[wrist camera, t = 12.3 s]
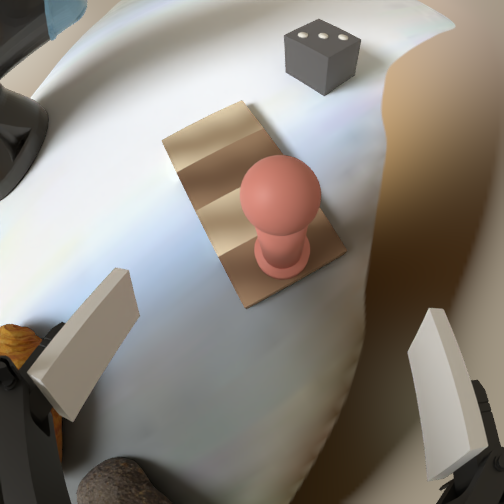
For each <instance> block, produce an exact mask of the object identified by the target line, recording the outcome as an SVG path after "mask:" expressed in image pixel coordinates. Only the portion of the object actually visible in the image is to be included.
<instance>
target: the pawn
mask: <svg viewBox="0 0 504 504" xmlns="http://www.w3.org/2000/svg"><path fill="white" fill-rule="evenodd" d="M240 202H241V207H242V210H243V212H244V214H245V216H246V217H247V219H248V220H249V221H250V223H251V224H252V225H254V226H255V228H256V232H257V236H258V237H257V239H256V242H255V247H254V253H255V257H256V260H257V263H258V265H259V267H260V268H261V270H262V271H263V272H264V273H265V274H266V275H268V276H269V277H271V278H274V279H278V280H286V279H290V278H293V277H295V276H297V275H298V274H300V273H301V272H302V271H303V269H304V268H305V266H306V264H307V262H308V259H309V255H310V244H309V241H308V238H307V236H306V233H307V228H308V225H309V224H310V223H311V222H312V221H313V219H314V218H315V216H316V214H317V212H318V210H319V207H320V202H321V189H320V185H319V181H318V179H317V177H316V175H315V174H314V172H313V171H312V170H311V168H310V167H309V166H307V165H306V164H305V163H304V162H302V161H301V160H299V159H297V158H294V157H291V156H286V155H274V156H269V157H266V158H264V159H261V160H260V161H258V162H257V163H255V164H254V165H253V166H252V167H251V168H250V169H249V170H248V171H247V173H246V174H245V176H244V178H243V181H242V183H241V187H240Z"/></svg>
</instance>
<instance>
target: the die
mask: <svg viewBox="0 0 504 504" xmlns="http://www.w3.org/2000/svg"><path fill="white" fill-rule="evenodd" d="M284 42H285V67H286V73H288V74H289V75H291V76H293V77H294V78H296V79H298V80H299V81H301V82H303V83H304V84H306V85H308V86H309V87H311V88H312V89H314V90H315V91H317V92H319V93H320V94H322V95H323V96H325V95H327V94H328V93H329V92H331V91H332V90H334V89H335V88H336V87H338V86H339V85H341V84H342V83H344V82H345V81H347V80H348V79H350V78H351V77H353V76H354V74H355V69H356V64H357V59H358V54H359V49H360V43H361V39H359V38H357V37H355V36H353V35H351V34H350V33H348V32H346V31H344V30H342V29H340V28H337V27H335V26H333V25H331V24H329V23H327V22H325V21H323V20H320V19H318V20H315V21H313V22H311V23H309V24H307V25H304V26H302V27H300V28H298V29H296V30H294V31H292V32H290V33H288V34H286V35H284Z"/></svg>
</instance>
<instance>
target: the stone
mask: <svg viewBox="0 0 504 504" xmlns="http://www.w3.org/2000/svg"><path fill="white" fill-rule="evenodd" d="M77 502H78V504H172V502H171V501H170V500H169V499H168V498H167V497H166V496H165V495H163V494H162V493H161V492H159V491H158V490H157V489H156V488H155V487H154V486H153V485H152V484H151V482H150V481H149V479H148V477H147V476H146V474H145V473H144V471H143V470H142V469H141V467H140V466H139V465H138V464H137V463H136V462H135V461H133V460H131V459H127V458H123V457H118V458H110V459H107V460H105V461H103V462H102V463H100V464H99V465H97V466H96V467H94V468H93V469H92V470H91V471H90V472H89V473H88V474H87V475H86V476H85V477H84V478H83V479H82V480H81V482H80V484H79V486H78V490H77Z"/></svg>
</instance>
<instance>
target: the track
mask: <svg viewBox="0 0 504 504" xmlns="http://www.w3.org/2000/svg"><path fill="white" fill-rule="evenodd" d="M162 143H163V145H164V147H165V149H166V151H167V153H168V155H169V158H170V160H171V162H172V164H173V166H174V168H175V170H176V172H177V174H178V176H179V179H180V181H181V183H182V185H183V187H184V189H185V191H186V193H187V195H188V197H189V199H190V201H191V203H192V205H193V207H194V209H195V211H196V213H197V215H198V217H199V219H200V222H201V224H202V226H203V228H204V230H205V232H206V234H207V236H208V238H209V240H210V241H211V243H212V245H213V247H214V249H215V251H216V253H217V255H218V257H219V259H220V261H221V263H222V265H223V267H224V269H225V271H226V273H227V275H228V277H229V279H230V281H231V283H232V284H233V286H234V288H235V290H236V292H237V294H238V296H239V298H240V300H241V302H242V304H243V306H244V307H245V308H246V309H247V308H249V307H251V306H253V305H255V304H256V303H258V302H260V301H262V300H264V299H266V298H268V297H269V296H271V295H273V294H275V293H277V292H279V291H280V290H282V289H284V288H286V287H288V286H289V285H291V284H293V283H295V282H297V281H298V280H300V279H302V278H304V277H305V276H307V275H309V274H311V273H313V272H314V271H316V270H318V269H320V268H321V267H323V266H325V265H326V264H328V263H330V262H332V261H333V260H335V259H337V258H339V257H340V256H342V255H344V254H345V253H346V252H347V249H346V248H345V246H344V244H343V243H342V241H341V240H340V238H339V236H338V235H337V233H336V232H335V230H334V228H333V227H332V225H331V224H330V222H329V221H328V219H327V218H326V216H325V215H324V213H323V211H322V210H321V208H320V207H319V210H318V212H317V214H316V216H315V218H314V219H313V221H312V222H311V223H310V224H309V225H308V228H307V233H306V236H307V238H308V241H309V244H310V255H309V259H308V262H307V264H306V266H305V268H304V269H303V271H302V272H301V273H300V274H298V275H297V276H295V277H293V278H290V279H286V280H278V279H274V278H271V277H269V276H268V275H266V274H265V273H264V272H263V271H262V270H261V268H260V267H259V265H258V263H257V260H256V257H255V253H254V247H255V242H256V239H257V237H258V236H257V232H256V228H255V226H254V225H252V224H251V223H250V221H249V220H248V219H247V217H246V216H245V214H244V212H243V210H242V207H241V202H240V187H241V183H242V181H243V178H244V176H245V174H246V173H247V171H248V170H249V169H250V168H251V167H252V166H253V165H254V164H255V163H257V162H258V161H260V160H261V159H264V158H266V157H269V156H274V155H283V153H282V152H281V151H280V149H279V148H278V147H277V145H276V144H275V142H274V141H273V140H272V138H271V137H270V136H269V134H268V133H267V132H266V130H265V129H264V128H263V126H262V125H261V124H260V123H259V121H258V120H257V119H256V117H255V116H254V115H253V113H252V112H251V111H250V110H249V108H248V107H247V106H246V105H245V103H244V102H243V101H239V102H237V103H235V104H233V105H230V106H228V107H226V108H224V109H222V110H220V111H218V112H215V113H213V114H211V115H209V116H207V117H205V118H203V119H201V120H199V121H197V122H195V123H193V124H191V125H189V126H187V127H185V128H184V129H182V130H180V131H178V132H176V133H174V134H172V135H171V136H169V137H167V138H165V139H163V140H162Z"/></svg>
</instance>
